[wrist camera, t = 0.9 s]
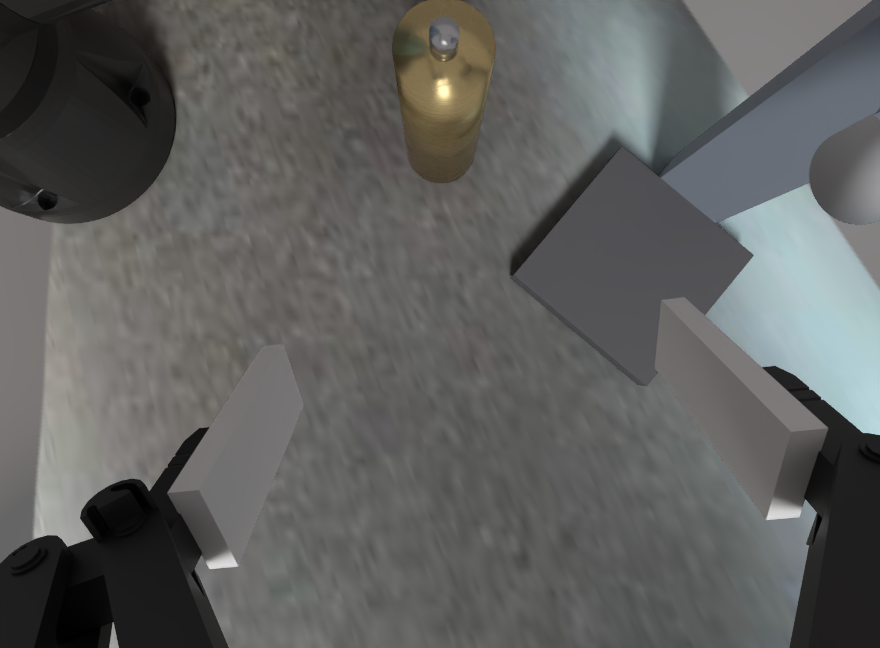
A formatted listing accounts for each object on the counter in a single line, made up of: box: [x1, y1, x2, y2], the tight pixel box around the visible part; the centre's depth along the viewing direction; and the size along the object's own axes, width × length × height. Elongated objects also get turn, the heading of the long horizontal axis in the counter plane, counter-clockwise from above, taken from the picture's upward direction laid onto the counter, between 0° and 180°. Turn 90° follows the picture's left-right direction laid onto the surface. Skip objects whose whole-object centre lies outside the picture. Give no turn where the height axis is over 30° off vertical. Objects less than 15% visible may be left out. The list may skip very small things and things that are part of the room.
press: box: [511, 0, 880, 386], centre depth 21 cm, size 15×15×28 cm
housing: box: [392, 0, 495, 183], centre depth 28 cm, size 5×5×13 cm
